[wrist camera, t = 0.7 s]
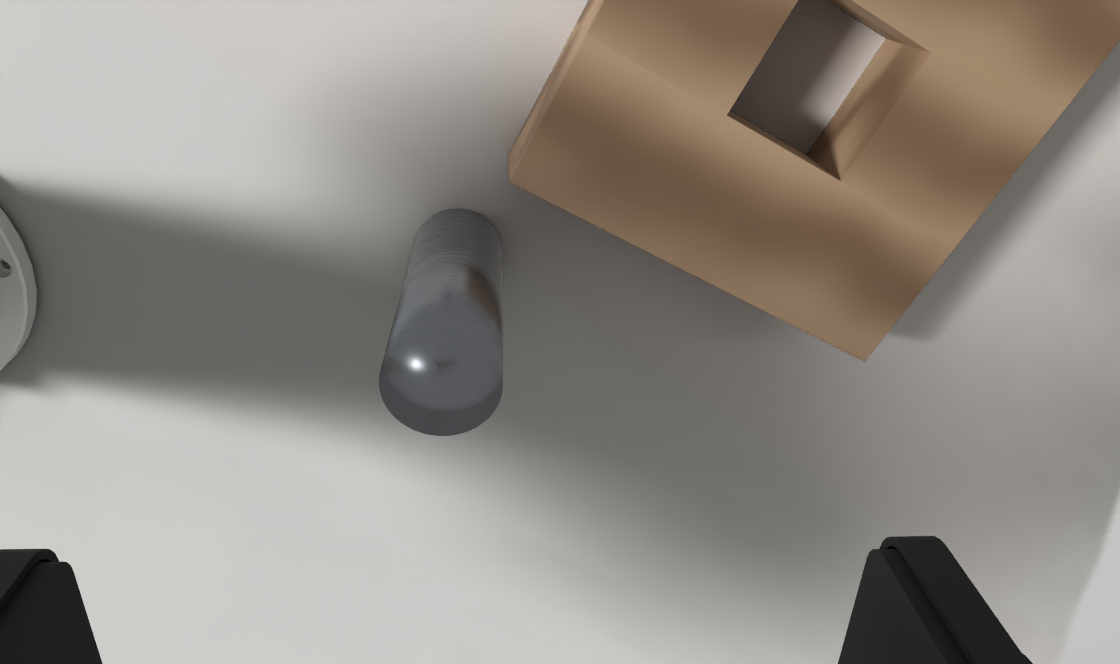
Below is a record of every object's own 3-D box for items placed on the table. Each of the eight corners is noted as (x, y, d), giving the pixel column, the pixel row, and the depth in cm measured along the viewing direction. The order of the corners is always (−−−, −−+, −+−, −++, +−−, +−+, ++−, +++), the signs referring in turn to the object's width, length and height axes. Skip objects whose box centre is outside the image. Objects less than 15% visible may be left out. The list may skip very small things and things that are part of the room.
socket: (832, 322, 40) (864, 361, 36) (508, 155, 35) (508, 182, 32) (1095, -26, 33) (1166, -20, 30) (740, -293, 28) (774, -322, 25)
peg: (478, 303, 38) (470, 452, 28) (400, 268, 37) (359, 408, 27) (517, 233, 37) (523, 360, 26) (437, 193, 36) (409, 310, 25)
